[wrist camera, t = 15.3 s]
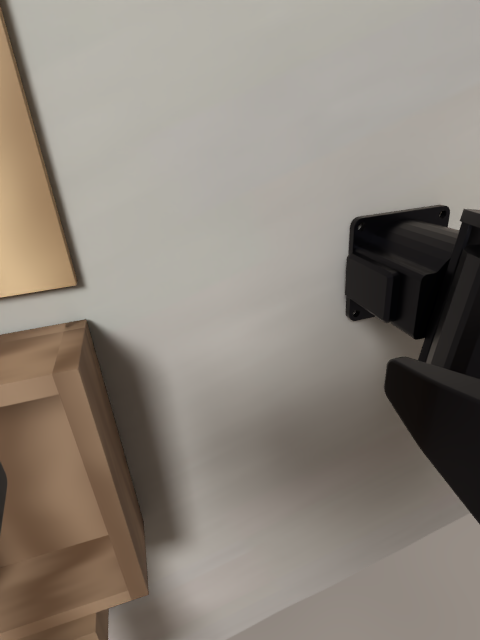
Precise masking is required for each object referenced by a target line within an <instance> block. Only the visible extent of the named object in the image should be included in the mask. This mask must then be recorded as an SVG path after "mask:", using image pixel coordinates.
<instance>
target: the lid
mask: <svg viewBox="0 0 480 640" xmlns="http://www.w3.org/2000/svg"><path fill="white" fill-rule="evenodd" d="M76 284H77V278H76V274H75V270H74V267H73V263H72V260H71V256H70V253H69V249H68V245H67V242H66V238H65V235H64V231H63V228H62V224H61V220H60V217H59V213H58V210H57V206H56V203H55V199H54V195H53V192H52V188H51V185H50V181H49V178H48V174H47V170H46V167H45V163H44V160H43V156H42V153H41V149H40V145H39V142H38V138H37V135H36V131H35V128H34V124H33V121H32V117H31V113H30V110H29V106H28V103H27V99H26V96H25V92H24V88H23V85H22V81H21V78H20V74H19V71H18V67H17V63H16V60H15V56H14V53H13V49H12V46H11V42H10V38H9V35H8V31H7V28H6V24H5V21H4V17H3V13H2V10H1V6H0V297H6V296H13V295H19V294H25V293H31V292H38V291H44V290H50V289H56V288H63V287H69V286H75V285H76Z"/></svg>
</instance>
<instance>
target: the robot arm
mask: <svg viewBox="0 0 480 640" xmlns="http://www.w3.org/2000/svg"><path fill="white" fill-rule="evenodd" d="M441 211H442V213H441V215H440V216H439V214H440V212H441ZM449 215H450V209H449V207H447V206H444V205H435V206H428V207H421V208H415V209H408V210H401V211H394V212H387V213H381V214H374V215H367V216H360V217H356V218H355V219H354V220H353V221H352V222H351V225H350V241H349V255H348V257H347V267H346V288H345V295H346V296H347V299H346V316H347V317H348V318H349V319H351V320H353V321H356V320H361V319H366V318H370V317H375V316H376V317H378V318H379V319H381V320H382V321H383V322H385V323H389V322H390V323H391V324H393V325H394V326H396V327H397V328H399V329H400V330H402V331H403V332H405V333H406V334H408V335H409V336H411V337H412V338H414V339H422V338H425V340H424V343H423V347H422V350H421V353H420V356H419V359H418V360H415V359H412V358H408V357H400V358H395V359H391V360H390V361H389V362H388V363H387V369H386V377H385V384H384V389H385V394H386V396H387V398H388V399H389V401H390V402H391V404H392V406H393V407H394V409H395V410H396V412H397V413H398V415H399V417H400V418H401V420H402V421H403V423H404V424H405V426H406V428H407V429H408V431H409V432H410V434H411V435H412V437H413V439H414V440H415V441H416V443H417V444H418V446H419V447H420V449H421V450H422V451H423V453H424V454H425V455H426V457H427V458H428V459H429V460H430V462H431V463H432V464H433V465H434V467H435V468H436V469H437V471H438V472H439V473H440V474H441V476H442V477H443V478H444V479H445V481H446V482H447V483H448V485H449V486H450V487H451V488H452V490H453V491H454V492H455V493H456V495H457V496H458V497H459V499H460V500H461V501H462V502H463V504H464V505H465V506H466V507H467V509H468V510H469V511H470V513H471V514H472V515H473V516H474V518H475V519H476V520H477V521H478V523H479V524H480V210H472V209H464V210H463V213H462V216H461V219H460V221H461V222H462V224H461V227H460V230H455V229H451V228H448V221H449ZM360 223H362V226H361V228H360V229H359V230H358V225H359V224H360ZM355 310H356V313H355V314H353V312H354V311H355ZM6 492H7V476H6V473H5V471H4V468H3V466H2V464H1V462H0V534H1V527H2V520H3V513H4V506H5V499H6Z"/></svg>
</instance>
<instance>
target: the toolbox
mask: <svg viewBox="0 0 480 640" xmlns="http://www.w3.org/2000/svg"><path fill="white" fill-rule="evenodd" d="M0 462H1V464H2V466H3V468H4V471H5V473H6V476H7V492H6V499H5V506H4V513H3V520H2V527H1V534H0V640H108V615H109V608H111V607H114V606H117V605H120V604H122V603H125V602H128V601H131V600H134V599H137V598H140V597H143V596H146V595H149V591H148V577H147V563H146V549H145V535H144V521H143V518H142V514H141V511H140V507H139V504H138V500H137V497H136V493H135V490H134V486H133V483H132V479H131V476H130V472H129V468H128V465H127V461H126V458H125V454H124V451H123V447H122V444H121V440H120V437H119V433H118V430H117V426H116V423H115V419H114V415H113V412H112V408H111V405H110V401H109V398H108V394H107V391H106V387H105V384H104V380H103V377H102V373H101V370H100V366H99V362H98V359H97V355H96V352H95V348H94V345H93V341H92V338H91V334H90V331H89V327H88V324H87V320H86V319H85V320H80V321H74V322H69V323H63V324H58V325H52V326H47V327H41V328H36V329H30V330H24V331H19V332H13V333H8V334H2V335H0Z"/></svg>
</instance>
